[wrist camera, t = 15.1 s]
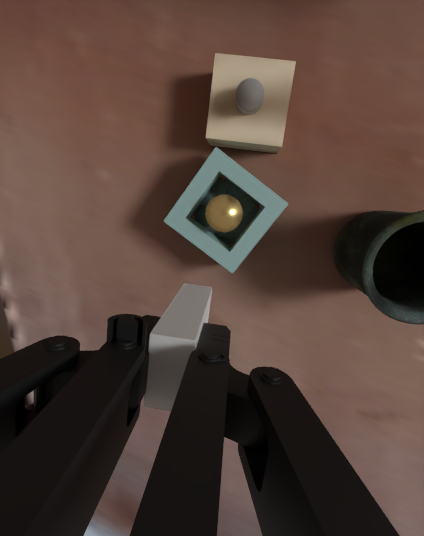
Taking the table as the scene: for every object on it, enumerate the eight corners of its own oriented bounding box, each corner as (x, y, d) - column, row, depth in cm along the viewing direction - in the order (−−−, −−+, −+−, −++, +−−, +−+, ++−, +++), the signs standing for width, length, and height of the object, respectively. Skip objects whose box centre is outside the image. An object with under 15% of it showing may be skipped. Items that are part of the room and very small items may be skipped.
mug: (325, 214, 41) (359, 219, 29) (447, 196, 39) (536, 194, 27) (332, 295, 43) (367, 331, 31) (448, 281, 41) (531, 313, 30)
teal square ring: (218, 152, 38) (215, 146, 35) (283, 203, 39) (288, 203, 35) (170, 219, 41) (163, 221, 37) (233, 266, 41) (232, 273, 37)
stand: (218, 71, 38) (213, 42, 31) (288, 79, 38) (299, 50, 31) (209, 145, 40) (203, 133, 33) (276, 153, 40) (284, 142, 33)
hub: (200, 175, 41) (191, 170, 34) (262, 183, 41) (267, 179, 33) (193, 237, 43) (183, 245, 36) (252, 245, 42) (255, 255, 35)
